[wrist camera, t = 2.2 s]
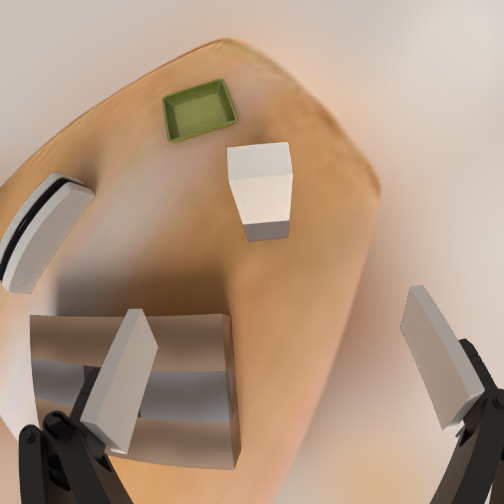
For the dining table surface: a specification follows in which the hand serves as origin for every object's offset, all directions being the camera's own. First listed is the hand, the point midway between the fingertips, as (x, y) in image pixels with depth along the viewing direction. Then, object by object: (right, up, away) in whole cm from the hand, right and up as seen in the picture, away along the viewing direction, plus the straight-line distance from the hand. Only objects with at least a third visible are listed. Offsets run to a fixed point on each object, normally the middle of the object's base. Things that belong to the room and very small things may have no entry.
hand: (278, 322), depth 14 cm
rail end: (0, +6, +17) cm, 18 cm away
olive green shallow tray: (-8, +21, +23) cm, 32 cm away
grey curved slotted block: (-27, +5, +20) cm, 34 cm away
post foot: (-14, -11, +14) cm, 22 cm away
